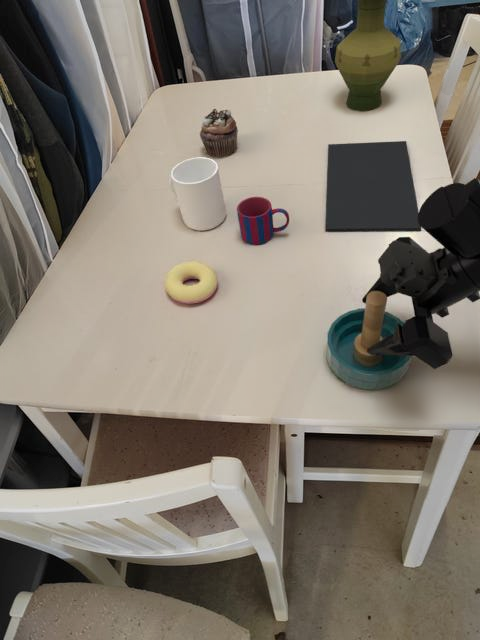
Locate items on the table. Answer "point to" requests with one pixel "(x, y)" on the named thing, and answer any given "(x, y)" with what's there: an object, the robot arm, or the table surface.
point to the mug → (198, 193)
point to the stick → (370, 329)
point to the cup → (258, 220)
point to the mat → (370, 188)
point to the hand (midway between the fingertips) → (366, 326)
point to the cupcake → (219, 134)
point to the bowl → (344, 362)
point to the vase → (367, 56)
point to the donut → (196, 291)
